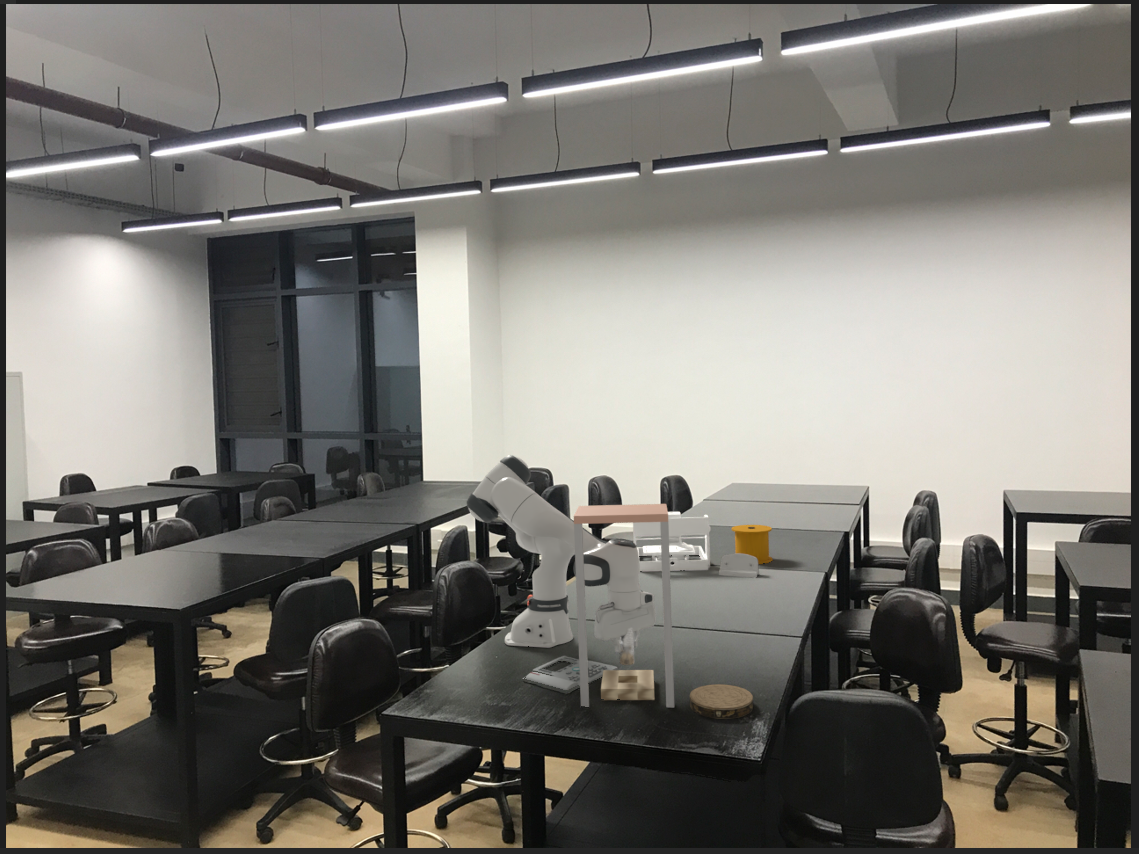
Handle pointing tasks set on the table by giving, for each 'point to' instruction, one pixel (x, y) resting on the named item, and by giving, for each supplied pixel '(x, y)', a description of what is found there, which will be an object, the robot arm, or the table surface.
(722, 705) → the wood slice
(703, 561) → the 3d printer
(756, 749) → the table surface
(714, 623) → the table surface
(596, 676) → the office telephone
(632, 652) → the peg
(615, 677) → the socket block
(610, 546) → the robot arm
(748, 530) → the spool
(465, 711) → the table surface
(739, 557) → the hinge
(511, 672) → the table surface
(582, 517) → the pink-topped arch frame
